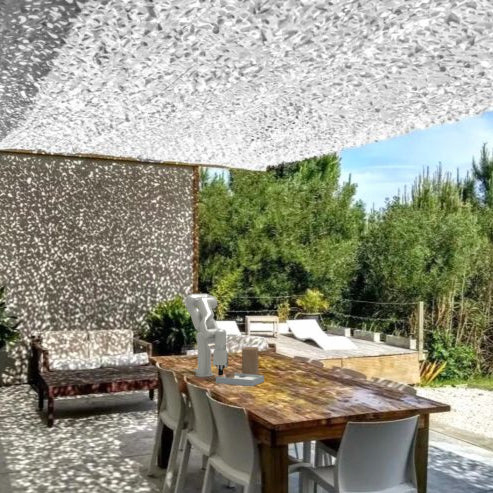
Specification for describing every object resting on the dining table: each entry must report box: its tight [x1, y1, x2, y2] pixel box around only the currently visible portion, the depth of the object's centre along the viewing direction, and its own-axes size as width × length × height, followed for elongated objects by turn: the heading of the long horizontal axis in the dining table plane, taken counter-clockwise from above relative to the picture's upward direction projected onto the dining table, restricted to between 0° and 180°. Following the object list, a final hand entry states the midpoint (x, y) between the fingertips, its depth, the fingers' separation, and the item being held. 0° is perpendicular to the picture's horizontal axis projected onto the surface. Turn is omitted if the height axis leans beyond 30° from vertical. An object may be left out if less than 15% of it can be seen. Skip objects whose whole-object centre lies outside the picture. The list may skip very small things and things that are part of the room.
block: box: [241, 346, 259, 375], centre depth 444 cm, size 10×10×20 cm
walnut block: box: [224, 372, 235, 378], centre depth 425 cm, size 4×4×3 cm
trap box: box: [215, 372, 265, 387], centre depth 421 cm, size 27×18×4 cm, turn 64°
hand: (220, 375), depth 427 cm, fingers closed
